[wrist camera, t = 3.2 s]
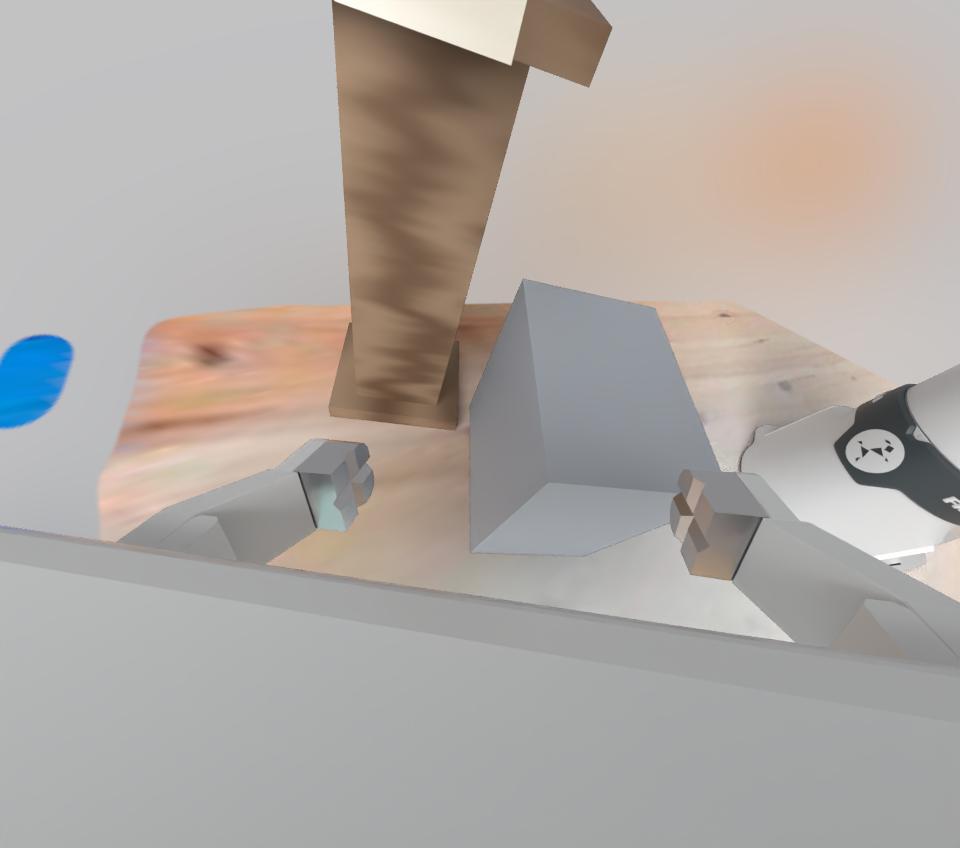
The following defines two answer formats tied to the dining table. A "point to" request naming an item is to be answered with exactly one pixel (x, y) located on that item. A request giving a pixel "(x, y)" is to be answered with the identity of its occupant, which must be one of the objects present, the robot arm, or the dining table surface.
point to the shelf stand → (428, 192)
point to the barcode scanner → (456, 21)
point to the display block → (578, 427)
